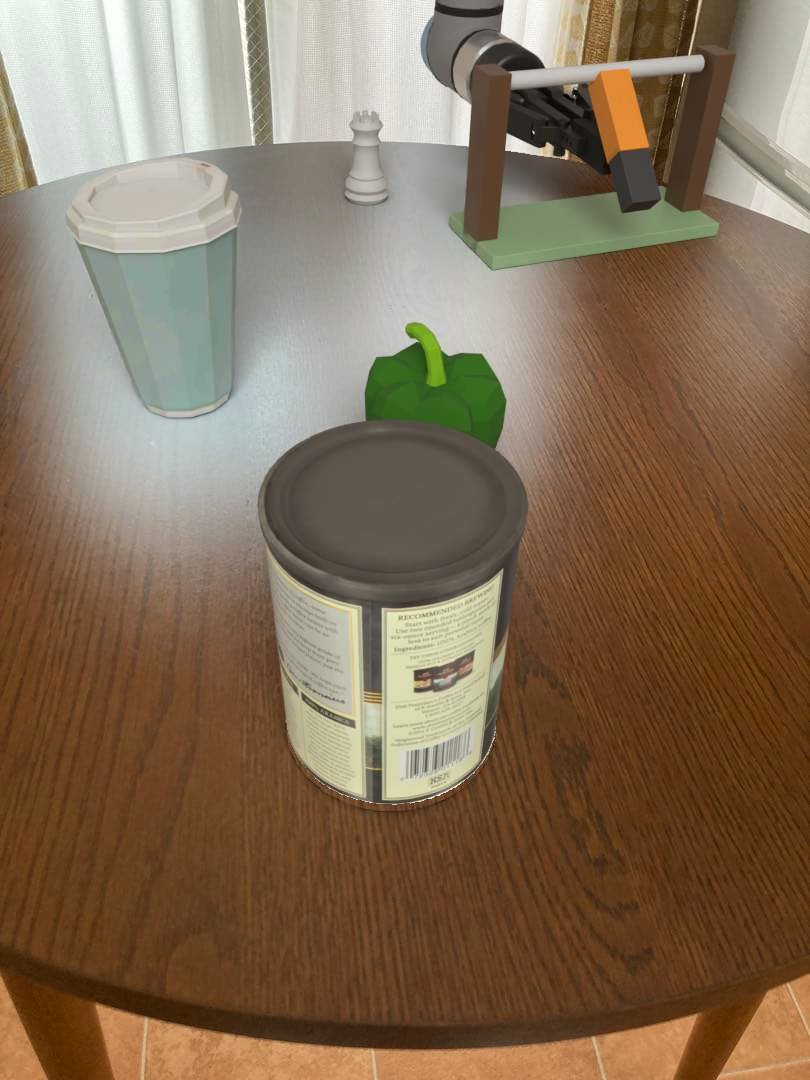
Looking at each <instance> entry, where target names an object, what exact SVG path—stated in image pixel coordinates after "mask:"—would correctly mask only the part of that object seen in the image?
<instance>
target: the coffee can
mask: <svg viewBox="0 0 810 1080" xmlns="http://www.w3.org/2000/svg"><path fill="white" fill-rule="evenodd" d="M528 514H529V499H528V494H527V489H526V488H525V485H524V482H523V480H522V478H521V476H520V475H519V473H518V471H517V470H516V468H515V466H513V464H512V463H511V462H510V461H509V460H508V459H507V458H506V457H505V456H504V455H502V453H500V452H499V451H498V450H496V448H495V449H493V448H492V447H491V446H489V445H488V444H486V443H484V442H483V441H481V440H479V439H477V438H475V437H473V436H471V435H468V434H466V433H464V432H461V431H457V430H455V429H452V428H449V427H446V426H443V425H438V424H433V423H428V422H422V421H414V420H371V421H366V420H364V421H356V422H351V423H346V424H342V425H338V426H334V427H331V428H328V429H326V430H323V431H321V432H317V433H315V434H313V435H311V436H309V437H308V438H305V439H304V440H301V441H300V442H298V443H297V444H295V445H292V446H291V448H289V449H288V450H287V451H285V452H284V453H283V454H282V455H281V456H280V457H279V458H278V459H276V461H275V462H274V463H273V464H272V466H271V467H269V470H268V471H267V472H266V474H265V476H264V478H263V479H262V482H261V484H260V487H259V491H258V496H257V515H258V521H259V525H260V530H261V533H262V535H263V538H264V543H265V552H266V561H267V568H268V569H267V570H268V578H269V587H270V594H271V603H272V611H273V619H274V629H275V636H276V646H277V652H278V661H279V669H280V679H281V688H282V696H283V705H284V713H285V722H286V723H287V730H288V735H289V739H290V742H291V745H292V747H293V749H294V751H295V753H296V755H297V757H298V758H299V760H300V761H301V763H302V764H303V765H304V766H305V768H307V770H308V771H309V772H310V773H311V774H312V775H313V776H314V777H315V779H317V780H318V781H319V782H321V783H322V784H323V785H326V786H327V787H328V788H329V789H332V790H334V791H336V792H338V793H339V794H341V795H345V796H347V797H351V798H353V799H356V800H358V799H359V800H362V801H365V802H369V803H376V804H392V805H397V804H404V803H410V804H411V803H415V802H421V801H424V800H426V799H432V798H434V797H435V796H440V795H441V794H443V793H446V792H448V791H449V790H452V789H453V788H456V787H457V786H458V785H460V784H461V783H462V782H464V781H465V780H466V779H468V778H469V777H470V776H471V775H472V774H474V773H475V771H476V770H477V769H478V768H479V766H480V765H481V764H482V763H483V761H484V760H485V758H486V756H487V755H488V754H489V751H490V748H491V746H492V743H493V741H494V739H495V737H494V736H495V733H496V731H495V730H496V720H497V721H498V712H499V705H500V698H501V691H502V690H501V689H502V682H503V675H504V674H503V673H504V665H505V658H506V651H507V643H508V636H509V627H510V620H511V613H512V605H513V597H514V590H515V582H516V575H517V567H518V560H519V552H520V544H521V542H522V539H523V536H524V534H525V530H526V526H527V523H528V517H529V515H528Z"/></svg>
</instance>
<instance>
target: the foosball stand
mask: <svg viewBox="0 0 810 1080" xmlns="http://www.w3.org/2000/svg"><path fill="white" fill-rule="evenodd" d="M693 55H702V56H703V57H704V61H705V63H704V68H703V70H702V71H701V72H698V73H689V79H688V83H687V89H686V93H685V98H684V103H683V108H682V113H681V118H680V122H679V127H678V131H677V135H676V141H675V146H674V149H673V150H674V151H673V154H672V155H673V156H672V161H671V165H670V171H669V173H668V174H669V175H668V180H667V185H666V187H665V186H663V185H658V187H659V191H660V195H661V200H660V201H659V202H658V203H656V204H655V205H654V206H653V207H652V208H651V209H649V210H642V211H635V212H628V213H621V209H620V205H619V201H618V197H617V193H616V191H613V192H612V191H611V192H604V193H597V194H590V195H583V196H576V197H569V198H560V199H553V200H546V201H544V200H543V201H537V202H531V203H523V204H515V205H507V206H501V204H502V203H501V202H502V191H503V181H504V180H503V179H504V170H505V169H504V168H505V159H506V147H507V136H508V135H507V125H508V114H509V103H510V91H511V80H512V74H511V73H510V72H508V71H506V70H505V69H503V68H502V67H500V66H499V65H497V64H484V65H474V71H473V87H472V103H471V104H470V121H469V134H468V135H469V137H468V151H467V152H468V153H467V168H466V181H465V182H466V183H465V199H464V211H463V212H456V213H449V216H448V227H449V226H450V227H451V228H452V229H453V230H454V231H455V232H456V233H455V232H454V231H453V230H452V229H451V228H450V227H449V228H450V229H451V230H452V231H453V232H454V233H455V234H456V236H458V237H459V238H460V239H461V241H463V242H464V243H465V244H466V245H467V246H468V247H469V249H471V251H473V253H475V254H476V255H477V256H478V257H479V258H480V259H481V260H482V262H484V263H485V265H487V267H488V268H490V270H492V271H494V270H502V269H507V268H508V269H509V268H514V267H521V266H526V265H527V266H528V265H534V264H540V263H547V262H554V261H560V260H565V259H566V260H567V259H573V258H574V259H575V258H579V257H586V256H593V255H599V254H606V253H611V252H613V253H614V252H618V251H624V250H631V249H638V248H644V247H651V246H658V245H664V244H669V243H670V244H671V243H676V242H682V241H683V242H684V241H690V240H697V239H703V238H709V237H715V236H718V234H719V233H718V232H719V229H720V222H718V221H717V220H715V219H713V218H712V217H711V216H709V215H708V214H706V213H704V212H703V211H702V210H700V209H701V205H702V200H703V197H704V192H705V188H706V184H707V179H708V174H709V171H710V166H711V162H712V158H713V153H714V149H715V145H716V142H717V141H716V140H717V137H718V132H719V130H720V129H719V128H720V125H721V124H720V123H721V119H722V116H723V112H724V108H725V102H726V98H727V94H728V90H729V86H730V82H731V77H732V74H733V69H734V64H735V60H736V56H737V53H735V52H733V51H731V50H729V49H725V48H724V47H721V46H719V45H717V44H707V45H706V44H705V45H696V46H695V50H694V54H693Z"/></svg>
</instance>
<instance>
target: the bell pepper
mask: <svg viewBox="0 0 810 1080" xmlns="http://www.w3.org/2000/svg"><path fill="white" fill-rule="evenodd" d="M404 331H405V334H406V335H407V336H408V338H409V339H413V340H414V339H415V340H416V342H413V343H412V344H410V345H409V346H407V347H405V348H403V349H402V350H400V351H398V352H396V353H395V354H393V355H386V356H385V355H383V356H376V357H375V359H374V361H373V363H372V365H371V367H370V369H369V371H368V376H367V379H366V384H365V389H364V415H365V416H364V417H365V421H371V420H414V421H422V422H428V423H433V424H438V425H443V426H446V427H449V428H452V429H455V430H457V431H461V432H464V433H466V434H468V435H471V436H473V437H475V438H477V439H479V440H481V441H483V442H484V443H486V444H488V445H489V446H491V447H492V448H493V449H495V450H496V448H497V446H498V443H499V440H500V438H501V435H502V432H503V429H504V425H505V424H504V423H505V415H506V408H507V398H506V395H505V392H504V390H503V387H502V384H501V381H500V380H499V378H498V376H497V374H496V373H495V372H494V370H493V368H492V366H491V365H490V364H489V362H488V360H487V359H486V357H485V356H484V354H483V353H479V352H477V353H476V352H459V353H454V354H451V355H448V354H447V353H446V352H444V351H443V350H442V347H441V345H440V343H439V341H438V339H437V337H436V335H435V333H434V332H433V331H432V330H431V329H429V328H428V327H427V326H426V325H425V324H423V323H421V322H417V321H413V322H408V323H407V324H406V325H405V327H404Z"/></svg>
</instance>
